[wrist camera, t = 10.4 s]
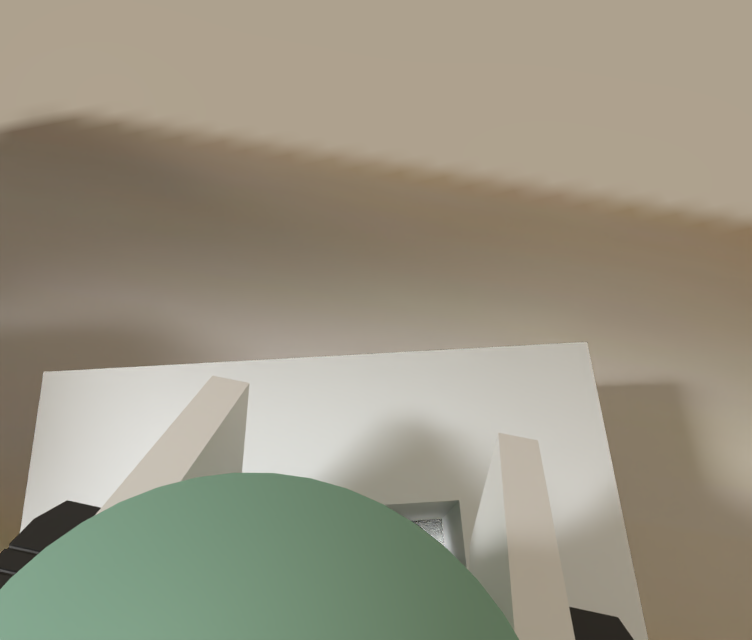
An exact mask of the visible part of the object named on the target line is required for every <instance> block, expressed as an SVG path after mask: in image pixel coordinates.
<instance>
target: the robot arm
mask: <svg viewBox="0 0 752 640" xmlns="http://www.w3.org/2000/svg"><path fill="white" fill-rule="evenodd" d="M248 395H249V383H247V382H242V381H237V380H232V379H227V378H222V377H217V376H211V378H210V379H209V380H208V381H207V382H206V384H205V385H204V386H203V387H202V388H201V390H200V391H199V392H198V393H197V394H196V395H195V397H194V398H193V399H192V400H191V401H190V403H189V404H188V405H187V406H186V407H185V409H184V410H183V411H182V412H181V413H180V415H179V416H178V417H177V418H176V419H175V421H174V422H173V423H172V424H171V425H170V426H169V428H168V429H167V430H166V431H165V432H164V434H163V435H162V436H161V437H160V438H159V440H158V441H157V442H156V443H155V444H154V446H153V447H152V448H151V449H150V450H149V451H148V453H147V454H146V455H145V456H144V457H143V459H142V460H141V461H140V462H139V463H138V465H137V466H136V467H135V468H134V469H133V471H132V472H131V473H130V474H129V475H128V476H127V478H126V479H125V480H124V481H123V482H122V484H121V485H120V486H119V487H118V488H117V490H116V491H115V492H114V493H113V494H112V496H111V497H110V498H109V499H108V500H107V502H106V503H105V504H104V505H103V506H102V507H96V506H91V505H87V504H82V503H78V502H73V501H68V500H66V501H65V502H63V503H61V504H59V505H58V506H56V507H54V508H52V509H50V510H49V511H47V512H45V513H43V514H41V515H40V516H38V517H36V518H34V519H33V520H32V521H31V522H30V523H29V524H28V525H27V526H26V527H25V528H24V529H23V530H22V532H21V533H20V534H19V535H18V536H17V537H16V538H15V539H14V540H13V541H12V542H11V543H10V545H9V548H8V549H4V550H3V551H2V552H1V553H0V589H1V588H2V587H3V586H4V585H5V584H6V583H7V581H8V580H9V579H10V578H11V577H12V576H14V575H15V574H16V573H17V572H18V571H19V570H20V569H22V568H23V567H24V566H25V565H26V564H27V563H29V562H30V561H31V560H32V559H33V558H34V557H35V556H37V555H38V554H39V553H40V552H41V551H42V550H43V549H45V548H46V547H47V546H49V545H50V544H52V543H53V542H54V541H56V540H57V539H59V538H60V537H62V536H63V535H65V534H66V533H67V532H69V531H70V530H72V529H73V528H75V527H76V526H78V525H79V524H80V523H82V522H84V521H86V520H87V519H89V518H91V517H93V516H95V515H97V514H99V513H100V512H102V511H104V510H106V509H108V508H110V507H112V506H113V505H115V504H117V503H119V502H121V501H124V500H127V499H129V498H132V497H134V496H137V495H139V494H142V493H144V492H147V491H149V490H152V489H155V488H157V487H161V486H165V485H169V484H172V483H176V482H180V481H184V480H188V479H192V478H196V477H203V476H211V475H219V474H227V473H242V467H243V455H244V443H245V431H246V419H247V407H248ZM469 571H470V572H471V573H472V574H473V575H474V576H475V577H476V578H477V580H478V581H479V582H480V583H481V585H482V586H483V587H484V589H485V590H486V591H487V593H488V594H489V595H490V596H491V598H492V599H493V600H494V602H495V603H496V604H497V606H498V607H499V608H500V610H501V611H502V612H503V614H504V615H505V616H506V618H507V620H508V621H509V623H510V625H511V627H512V628H513V630H514V632H515V633H516V635H517V637H518V638H519V640H634V639H633V638H632V636H631V635H630V633H629V632H628V631H627V629H626V628H625V626H624V625H623V624H622V622H621V621H620V619H619V618H618V617H615V616H610V615H606V614H601V613H596V612H592V611H587V610H582V609H578V608H573V607H569V604H568V598H567V593H566V588H565V582H564V577H563V572H562V566H561V561H560V556H559V550H558V545H557V539H556V534H555V529H554V523H553V518H552V513H551V507H550V502H549V497H548V491H547V486H546V481H545V475H544V470H543V465H542V459H541V454H540V449H539V443H538V440H533V439H528V438H523V437H518V436H513V435H508V434H503V433H498V436H497V439H496V443H495V447H494V451H493V455H492V459H491V463H490V467H489V471H488V475H487V478H486V482H485V486H484V490H483V494H482V498H481V502H480V506H479V510H478V513H477V517H476V521H475V525H474V529H473V533H472V537H471V541H470V545H469Z"/></svg>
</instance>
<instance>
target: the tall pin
mask: <svg viewBox="0 0 752 640" xmlns="http://www.w3.org/2000/svg"><path fill="white" fill-rule="evenodd" d="M0 640H519V638H518V637H517V635H516V633H515V632H514V630H513V628H512V627H511V625H510V623H509V621H508V620H507V618H506V616H505V615H504V614H503V612H502V611H501V610H500V608H499V607H498V606H497V604H496V603H495V602H494V600H493V599H492V598H491V596H490V595H489V594H488V593H487V591H486V590H485V589H484V587H483V586H482V585H481V583H480V582H479V581H478V580H477V578H476V577H475V576H474V575H473V574H472V573H471V572H470V571H469V570H468V569H467V568H466V567H465V566H464V565H463V564H462V563H461V562H460V561H459V560H458V559H457V558H456V557H455V556H454V555H453V554H452V553H451V552H450V551H449V550H448V549H447V548H446V547H444V546H443V545H442V544H441V543H439V542H438V541H437V540H436V539H434V538H433V537H432V536H431V535H429V534H428V533H427V532H426V531H424V530H423V529H422V528H420V527H419V526H418V525H417V524H415V523H413V522H412V521H410V520H409V519H407V518H405V517H404V516H402V515H400V514H399V513H397V512H395V511H394V510H392V509H390V508H389V507H387V506H385V505H384V504H382V503H379V502H377V501H375V500H372V499H370V498H368V497H366V496H363V495H361V494H359V493H356V492H354V491H352V490H349V489H347V488H344V487H340V486H336V485H333V484H329V483H326V482H322V481H319V480H315V479H312V478H306V477H299V476H292V475H284V474H277V473H227V474H219V475H211V476H203V477H196V478H192V479H188V480H184V481H180V482H176V483H172V484H169V485H165V486H161V487H157V488H155V489H152V490H149V491H147V492H144V493H142V494H139V495H137V496H134V497H132V498H129V499H127V500H124V501H121V502H119V503H117V504H115V505H113V506H112V507H110V508H108V509H106V510H104V511H102V512H100V513H99V514H97V515H95V516H93V517H91V518H89V519H87V520H86V521H84V522H82V523H80V524H79V525H78V526H76V527H75V528H73V529H72V530H70V531H69V532H67V533H66V534H65V535H63V536H62V537H60V538H59V539H57V540H56V541H54V542H53V543H52V544H50V545H49V546H47V547H46V548H45V549H43V550H42V551H41V552H40V553H39V554H38V555H37V556H35V557H34V558H33V559H32V560H31V561H30V562H29V563H27V564H26V565H25V566H24V567H23V568H22V569H20V570H19V571H18V572H17V573H16V574H15V575H14V576H12V577H11V578H10V579H9V580H8V581H7V583H6V584H5V585H4V586H3V587H2V588H1V589H0Z"/></svg>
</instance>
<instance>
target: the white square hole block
mask: <svg viewBox="0 0 752 640" xmlns="http://www.w3.org/2000/svg"><path fill="white" fill-rule="evenodd" d="M211 376H217V377H222V378H227V379H232V380H237V381H242V382H247V383H249V395H248V407H247V419H246V431H245V443H244V455H243V467H242V473H277V474H284V475H292V476H299V477H306V478H312V479H315V480H319V481H322V482H326V483H329V484H333V485H336V486H340V487H344V488H347V489H349V490H352V491H354V492H356V493H359V494H361V495H363V496H366V497H368V498H370V499H372V500H375V501H377V502H379V503H382V504H384V505H385V506H387V507H389V508H390V509H392V510H394V511H395V512H397V513H399V514H400V515H402V516H404V517H405V518H407V519H409V520H410V521H417V520H432V519H442V526H443V536H444V547H446V548H447V549H448V550H449V551H450V552H451V553H452V554H453V555H454V556H455V557H456V558H457V559H458V560H459V561H460V562H461V563H462V564H463V565H464V566H465V567H466V568H467V569H468V570H469V545H470V541H471V537H472V533H473V529H474V525H475V521H476V517H477V513H478V510H479V506H480V502H481V498H482V494H483V490H484V486H485V482H486V478H487V475H488V471H489V467H490V463H491V459H492V455H493V451H494V447H495V443H496V439H497V436H498V433H503V434H508V435H513V436H518V437H523V438H528V439H533V440H538V443H539V449H540V454H541V459H542V465H543V470H544V475H545V481H546V486H547V491H548V497H549V502H550V507H551V513H552V518H553V523H554V529H555V534H556V539H557V545H558V550H559V556H560V561H561V566H562V572H563V577H564V582H565V588H566V593H567V598H568V604H569V607H573V608H578V609H582V610H587V611H592V612H596V613H601V614H606V615H610V616H615V617H618V618H619V619H620V621H621V622H622V624H623V625H624V626H625V628H626V629H627V631H628V632H629V633H630V635H631V636H632V638H633V639H634V640H648V635H647V630H646V626H645V621H644V616H643V611H642V606H641V601H640V596H639V591H638V587H637V582H636V577H635V572H634V567H633V562H632V557H631V552H630V548H629V543H628V538H627V533H626V528H625V523H624V518H623V513H622V509H621V504H620V499H619V494H618V489H617V484H616V479H615V474H614V470H613V465H612V460H611V455H610V450H609V445H608V440H607V435H606V431H605V426H604V421H603V416H602V411H601V406H600V401H599V397H598V392H597V387H596V382H595V377H594V372H593V367H592V362H591V358H590V353H589V348H588V343H587V342H572V343H554V344H536V345H518V346H500V347H482V348H464V349H446V350H428V351H410V352H392V353H374V354H356V355H338V356H320V357H302V358H284V359H266V360H247V361H229V362H211V363H193V364H175V365H157V366H139V367H121V368H103V369H85V370H67V371H49V372H43V379H42V386H41V393H40V400H39V406H38V413H37V420H36V427H35V434H34V440H33V447H32V454H31V461H30V467H29V474H28V481H27V488H26V495H25V501H24V508H23V515H22V522H21V529H20V533H21V532H22V530H23V529H24V528H25V527H26V526H27V525H28V524H29V523H30V522H31V521H32V520H33V519H34V518H36V517H38V516H40V515H41V514H43V513H45V512H47V511H49V510H50V509H52V508H54V507H56V506H58V505H59V504H61V503H63V502H65V501H66V500H68V501H73V502H78V503H82V504H87V505H91V506H96V507H102V506H103V505H104V504H105V503H106V502H107V500H108V499H109V498H110V497H111V496H112V494H113V493H114V492H115V491H116V490H117V488H118V487H119V486H120V485H121V484H122V482H123V481H124V480H125V479H126V478H127V476H128V475H129V474H130V473H131V472H132V471H133V469H134V468H135V467H136V466H137V465H138V463H139V462H140V461H141V460H142V459H143V457H144V456H145V455H146V454H147V453H148V451H149V450H150V449H151V448H152V447H153V446H154V444H155V443H156V442H157V441H158V440H159V438H160V437H161V436H162V435H163V434H164V432H165V431H166V430H167V429H168V428H169V426H170V425H171V424H172V423H173V422H174V421H175V419H176V418H177V417H178V416H179V415H180V413H181V412H182V411H183V410H184V409H185V407H186V406H187V405H188V404H189V403H190V401H191V400H192V399H193V398H194V397H195V395H196V394H197V393H198V392H199V391H200V390H201V388H202V387H203V386H204V385H205V384H206V382H207V381H208V380H209V379H210V378H211Z"/></svg>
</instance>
